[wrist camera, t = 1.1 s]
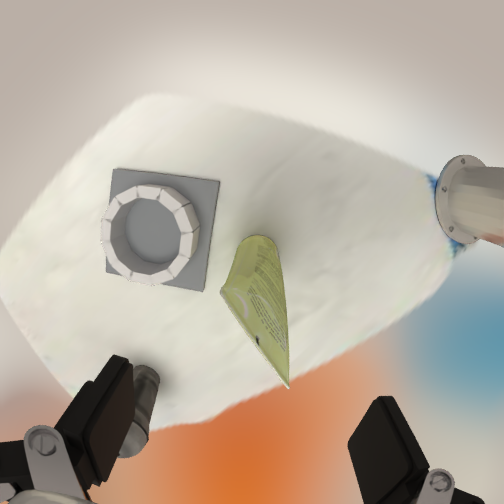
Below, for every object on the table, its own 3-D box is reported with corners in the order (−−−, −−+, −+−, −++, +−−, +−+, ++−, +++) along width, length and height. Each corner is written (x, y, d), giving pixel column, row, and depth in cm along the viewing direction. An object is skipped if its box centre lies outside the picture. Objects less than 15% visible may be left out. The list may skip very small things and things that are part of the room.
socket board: (219, 181, 32) (214, 182, 27) (204, 288, 35) (196, 306, 30) (116, 169, 31) (96, 168, 27) (109, 269, 35) (91, 282, 30)
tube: (225, 266, 34) (197, 368, 16) (238, 226, 33) (219, 292, 14) (270, 280, 35) (289, 390, 16) (284, 241, 34) (323, 321, 15)
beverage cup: (177, 377, 39) (141, 488, 19) (155, 400, 40) (118, 499, 21) (136, 349, 38) (77, 452, 18) (117, 375, 39) (64, 468, 20)
